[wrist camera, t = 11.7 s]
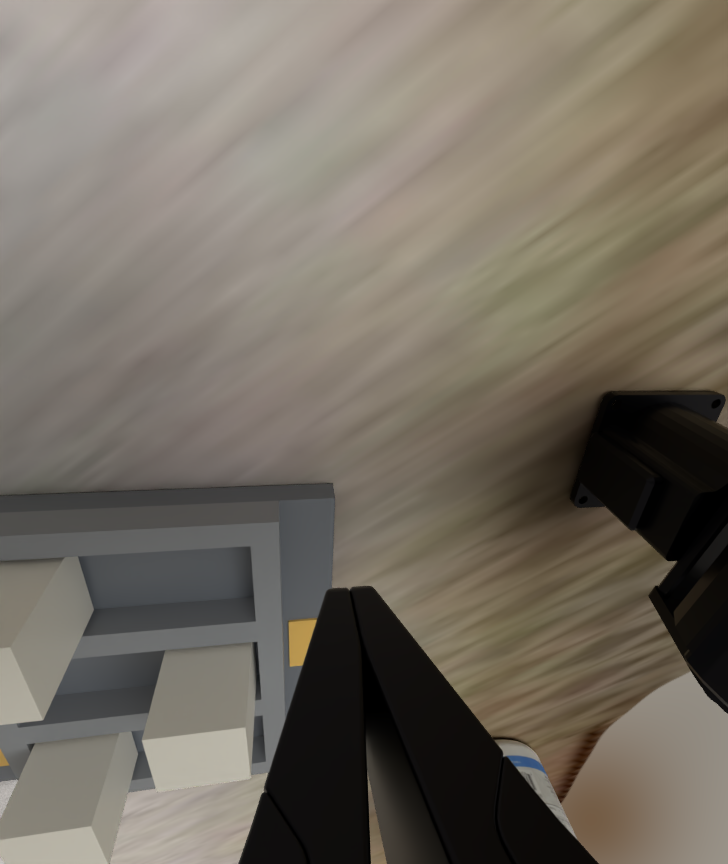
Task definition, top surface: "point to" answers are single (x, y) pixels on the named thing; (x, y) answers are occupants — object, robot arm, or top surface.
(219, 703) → the light grey block
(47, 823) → the light grey block
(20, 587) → the beige grey rectangular block
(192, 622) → the grey compartment tray
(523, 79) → the top surface
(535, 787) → the supplement tub
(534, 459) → the top surface
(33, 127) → the top surface
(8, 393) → the top surface
